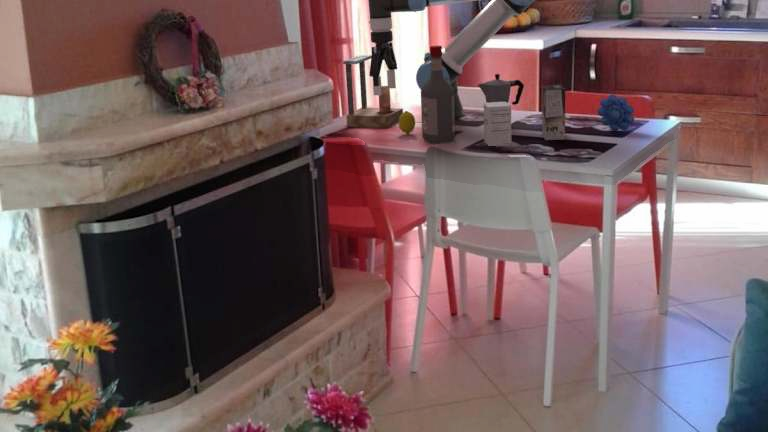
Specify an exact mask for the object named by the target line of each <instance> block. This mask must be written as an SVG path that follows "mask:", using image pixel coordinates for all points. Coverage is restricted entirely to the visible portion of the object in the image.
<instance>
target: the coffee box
mask: <svg viewBox="0 0 768 432" xmlns="http://www.w3.org/2000/svg"><path fill="white" fill-rule="evenodd" d="M541 136H542V137H543V138H544V140H545V141H556V140H557V141H558V140H565V139H566V88H565V87H564V86H563V85H562V84H560V83H559V84H544V85H541Z"/></svg>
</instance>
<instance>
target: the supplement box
mask: <svg viewBox="0 0 768 432" xmlns="http://www.w3.org/2000/svg"><path fill="white" fill-rule="evenodd" d="M511 125H512V106H511V104H510V103H509V102H508V103H507V102H490V103H486V102H483V138H484V139H483V141H484V143H485V144H486V146H488V147H489V146H496V147H501V146H500V145H510V146H512V126H511Z"/></svg>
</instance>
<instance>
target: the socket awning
mask: <svg viewBox="0 0 768 432" xmlns="http://www.w3.org/2000/svg"><path fill="white" fill-rule="evenodd" d="M371 56H372V54H370V55H366V54H365V55H364V54H362V55H361V54H360V55H359V54H358V55H356V56H353V57H351V58H348V59H346V60H343V61H342V64H343V65H344V66H345V77H346V95H347V110H348V114H346V127H353V128H354V127H355V128H383V129H386V128H387V129H389V128H391V127H393V126H395V125H397V124H399V117H400V115H401V114H402V113H404V109H403V108H397V107H396V108H395V107H393V108H392V107H391V113H390V114H380V111H379V107H368V102H367V101H368V100H367V99H368V98H367V96H368V95H367V83H366V82H367V81H366V80H367V79H366V61H367V60H371ZM358 64H359V66H358V68H359V81H360V82H359V83H360V86H359V87H360V99H361V101H360V102H361V103H360V104H361V107H360V108H358V109H356V110H355V105H354V89H353V75H352V71H353V70H352V65H358Z"/></svg>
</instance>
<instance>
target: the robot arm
mask: <svg viewBox="0 0 768 432" xmlns="http://www.w3.org/2000/svg"><path fill="white" fill-rule="evenodd" d="M475 1H478V0H368V11H369V12H368V13H369V21H368V24H369V27H370V29H369V30H370V42H371V43H373V44H375V46H372V47H371V55H372V56H371V59H370V65H369V77H370V78H371V77H372V85H373V86H372V88H373V96H379V95H382V90H381V86H382V77H381V76H380V73H381V70H382V65H383V61H384V63H385V65H386V68H387V70H386V76H387V78H386V79H387V86H390V89H396V88H397V87H396V84H397V83H396V70H398V63H397V59H396V55H395V51H394V47H393V45H394V44H393V40H394V39H393V31H392V29H393V20H392V13H406V12H407V13H408V12H409V13H412V12H413V13H417V12H423V11H425V9H426V8H428V7H435V6H442V5H443V6H444V5H445V6H446V5H450V4H459V3H460V4H461V3H469V2H475ZM536 1H537V0H490V2H489V3H487V4H486V6H485V7H483V9H482V10H480V12H479V13H478V14H477V15H475V17H473V19H472V20H471V21H470V22H468V24H467V25H466V26H465V27H463V29H462V30H461V31H460V32H459V33H458V34H457V35H456V36H455V37H454V38H453V39H452V40H451V41H450V43H448V45H446V47H444V48H442V56H441V57H442V73H443V77H444V78H445V79H446V80H447V81H448V83H449V84H450V85H451V86H452V87H453V89H454V113H455V118H459V117H463V115H464V107H463V104H462V102H461V99H460V96H459V86H458V85H459V84H458V78H459V77H460V75H462V74H463V68H464V67H463V66H464V65H466V64H467V62H469V60H470V59H471V58H472V57H473V56H474V55H476V54H477V53H478V51H479V50H480V49H481V48H482V47H484V45H486V44H487V42H488V41H489V40H490V39H491V38H492V37H493V36H494V35H495V34H497V32H498V31H499V30H500V29H501V28H502V27H503V26H504V25H505V24H506V23H507V22H508V21H509V20H510V19H511V18H512V17H514V16H520V15H522V14H523V12H524V11H526V10H527V8H528V7H530V6H531V4H533V3H534V2H536ZM423 61H424V63H422V64H421V65H420V66H418V69H417V71H416V77H415V80H416V81H415V82H416V84H417V86H418V88H419V90H421V89H422V87H423V86H424V85H425V83H426V82H427V81H428V80H429V78H430V75H431V56H430V51H429V52H425V53H424V58H423Z"/></svg>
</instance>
